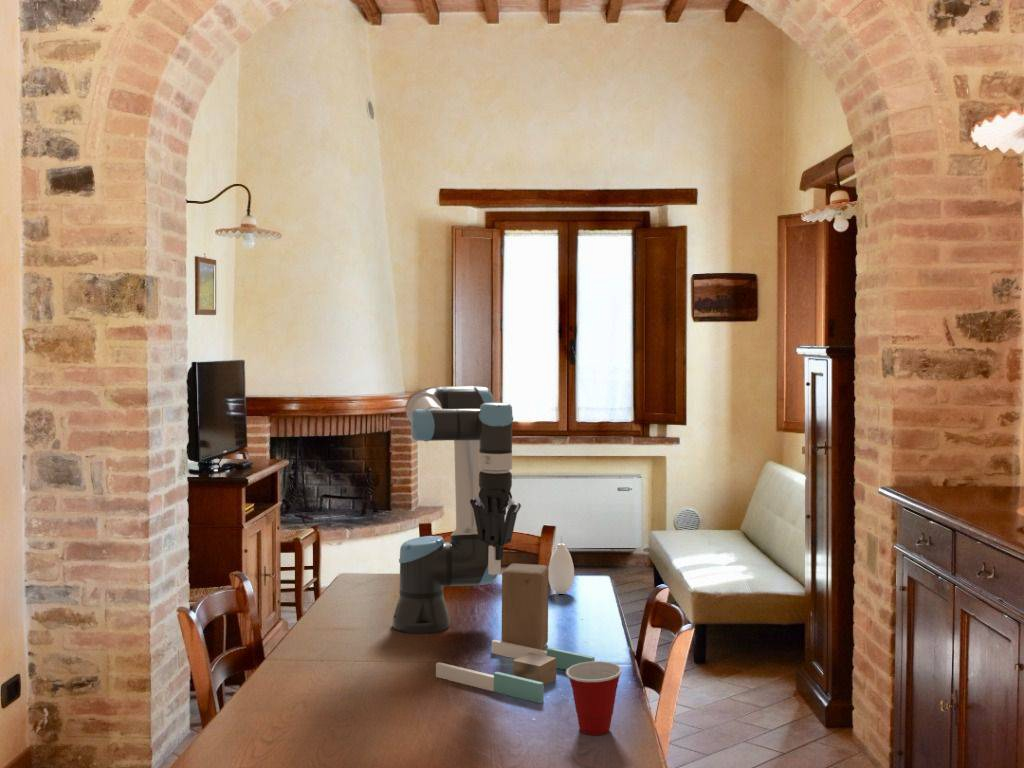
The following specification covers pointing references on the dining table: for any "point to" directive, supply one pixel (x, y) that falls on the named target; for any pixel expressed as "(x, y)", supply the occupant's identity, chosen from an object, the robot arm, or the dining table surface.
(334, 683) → the dining table surface
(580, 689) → the plastic cup
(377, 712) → the dining table surface
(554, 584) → the sauce bottle
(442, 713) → the dining table surface
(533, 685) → the walled lane
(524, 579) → the wooden block
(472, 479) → the robot arm
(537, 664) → the walnut block
